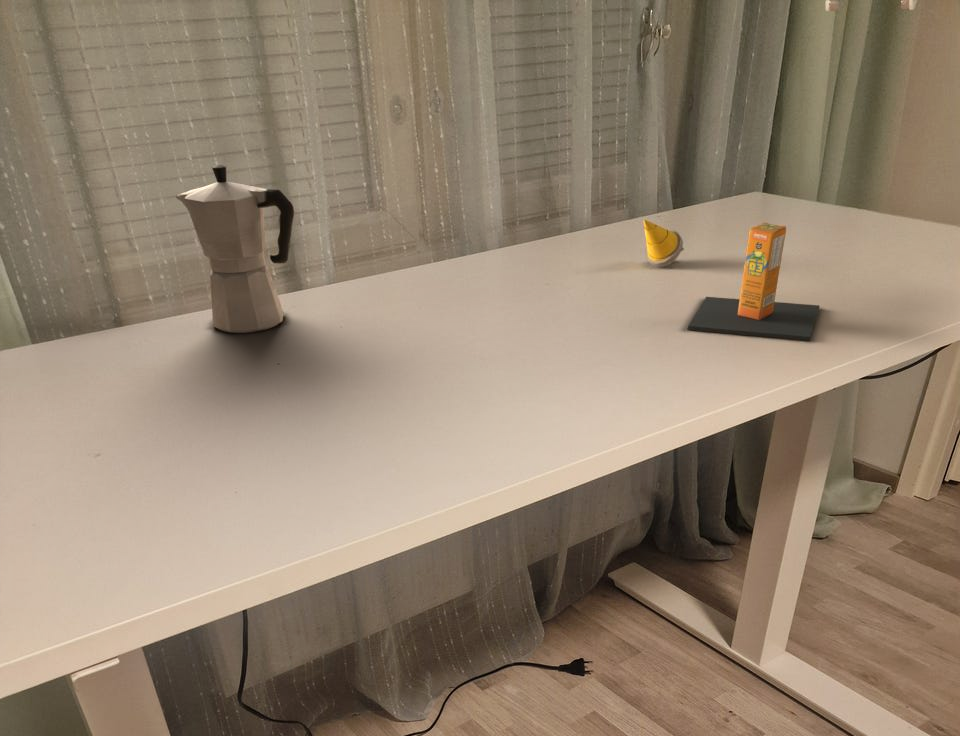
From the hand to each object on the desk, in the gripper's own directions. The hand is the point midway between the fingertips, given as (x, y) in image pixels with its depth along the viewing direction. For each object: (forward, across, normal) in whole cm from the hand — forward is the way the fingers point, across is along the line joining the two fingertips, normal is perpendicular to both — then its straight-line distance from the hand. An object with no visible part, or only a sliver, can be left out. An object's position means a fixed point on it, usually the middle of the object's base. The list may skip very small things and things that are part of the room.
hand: (868, 6), depth 110 cm
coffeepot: (+67, -51, -26) cm, 88 cm away
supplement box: (+45, +3, -4) cm, 45 cm away
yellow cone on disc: (+34, -17, +8) cm, 39 cm away
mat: (+45, +3, -4) cm, 45 cm away
